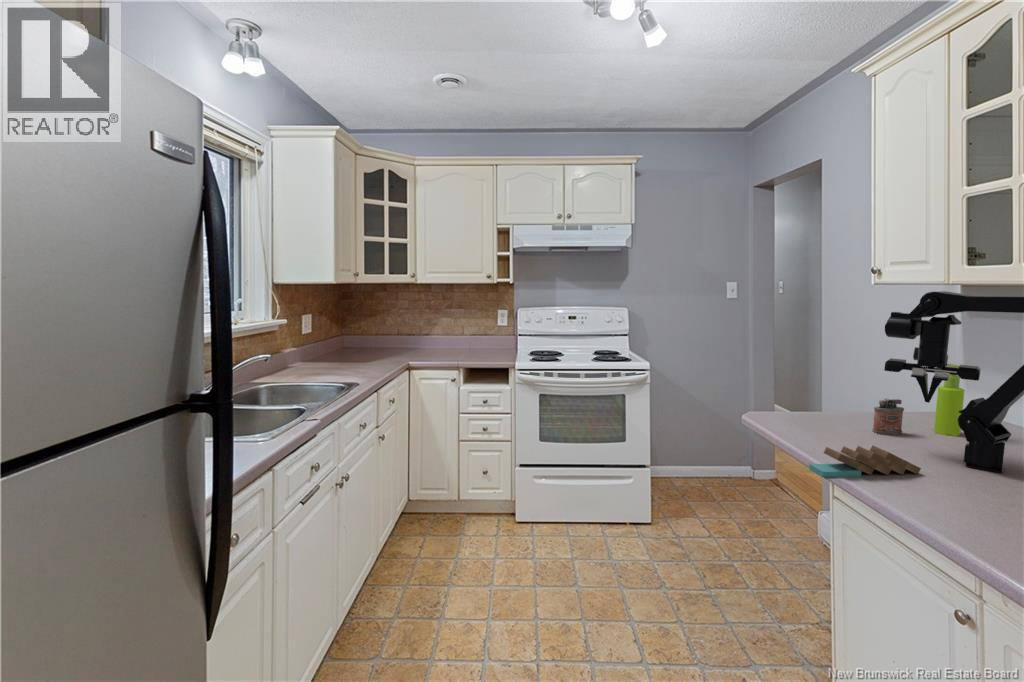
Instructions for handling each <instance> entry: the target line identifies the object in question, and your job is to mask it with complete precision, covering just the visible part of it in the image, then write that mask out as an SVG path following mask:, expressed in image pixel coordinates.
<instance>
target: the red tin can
mask: <svg viewBox="0 0 1024 682" xmlns="http://www.w3.org/2000/svg"><path fill="white" fill-rule="evenodd" d="M902 402H903V401H902V400H901V399H900V398H893V399H891V398H886V397H885V398H884V399H879V400H878V405H879V406H874V407H873V410H874V416H873V428H872V430H871V432H874V433H873V434H875V433H878V434H877V435H885V434H894V435H900V434H899V433H902V434H903V430H902V426H903V414H904V413H903V412H904V411H905V408H904V407H901V406H898V405H902Z"/></svg>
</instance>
